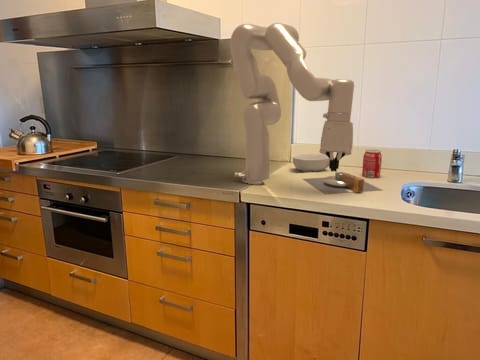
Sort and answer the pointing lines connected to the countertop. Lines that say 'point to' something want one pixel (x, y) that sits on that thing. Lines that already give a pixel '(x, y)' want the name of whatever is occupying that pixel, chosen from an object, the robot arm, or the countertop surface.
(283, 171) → the countertop surface
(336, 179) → the dial
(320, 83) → the robot arm
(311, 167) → the cereal bowl
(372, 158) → the soda can
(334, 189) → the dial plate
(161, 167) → the countertop surface
